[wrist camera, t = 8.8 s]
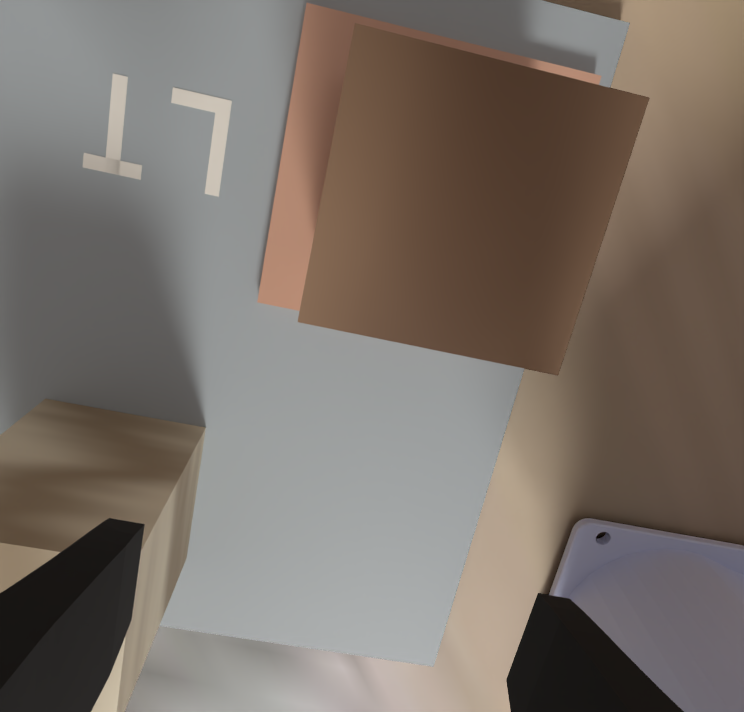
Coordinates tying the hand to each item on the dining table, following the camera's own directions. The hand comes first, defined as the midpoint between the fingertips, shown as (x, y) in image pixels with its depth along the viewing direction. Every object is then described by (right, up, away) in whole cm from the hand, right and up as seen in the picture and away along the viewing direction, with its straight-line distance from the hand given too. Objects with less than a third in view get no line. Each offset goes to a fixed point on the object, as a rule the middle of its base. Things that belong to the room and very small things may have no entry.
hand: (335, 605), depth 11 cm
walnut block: (+2, +9, +6) cm, 11 cm away
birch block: (-8, 0, +9) cm, 12 cm away
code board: (-3, +5, +9) cm, 10 cm away
